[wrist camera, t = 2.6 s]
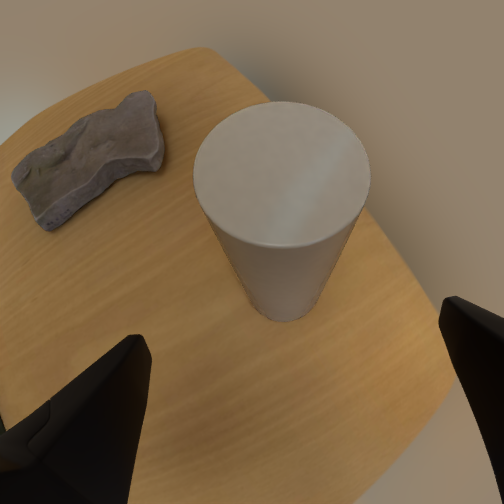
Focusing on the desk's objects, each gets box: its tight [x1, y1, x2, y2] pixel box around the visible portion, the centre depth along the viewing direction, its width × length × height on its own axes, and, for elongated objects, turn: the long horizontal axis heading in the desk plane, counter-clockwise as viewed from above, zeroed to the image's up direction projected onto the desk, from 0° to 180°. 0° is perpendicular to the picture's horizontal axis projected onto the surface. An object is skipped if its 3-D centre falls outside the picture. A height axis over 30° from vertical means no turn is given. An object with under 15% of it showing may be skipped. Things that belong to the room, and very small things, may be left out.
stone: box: [11, 90, 165, 231], centre depth 23 cm, size 15×10×4 cm, turn 114°
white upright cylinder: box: [193, 101, 371, 322], centre depth 14 cm, size 5×5×13 cm
